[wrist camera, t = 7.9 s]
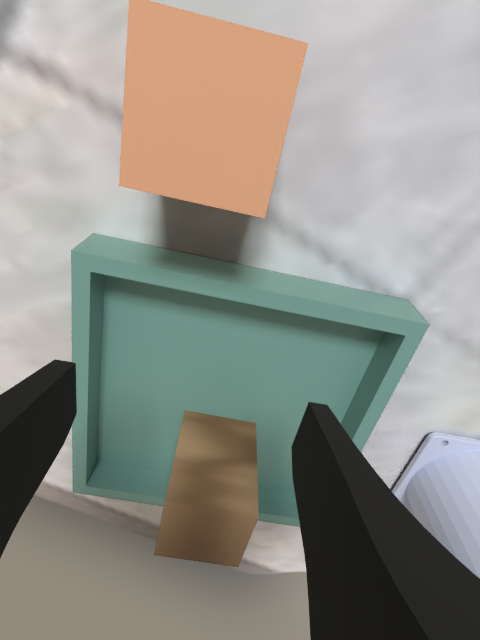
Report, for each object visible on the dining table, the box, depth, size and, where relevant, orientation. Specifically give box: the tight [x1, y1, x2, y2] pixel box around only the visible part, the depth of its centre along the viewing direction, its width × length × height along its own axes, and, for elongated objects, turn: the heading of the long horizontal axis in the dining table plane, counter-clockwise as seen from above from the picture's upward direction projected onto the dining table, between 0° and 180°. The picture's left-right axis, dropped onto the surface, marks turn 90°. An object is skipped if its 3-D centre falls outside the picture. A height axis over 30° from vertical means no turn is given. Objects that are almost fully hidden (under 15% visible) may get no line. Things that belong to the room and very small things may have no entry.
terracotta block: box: [119, 0, 308, 218], centre depth 13 cm, size 4×4×6 cm
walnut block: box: [154, 410, 259, 567], centre depth 21 cm, size 4×4×6 cm
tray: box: [71, 233, 430, 527], centre depth 21 cm, size 16×16×2 cm
